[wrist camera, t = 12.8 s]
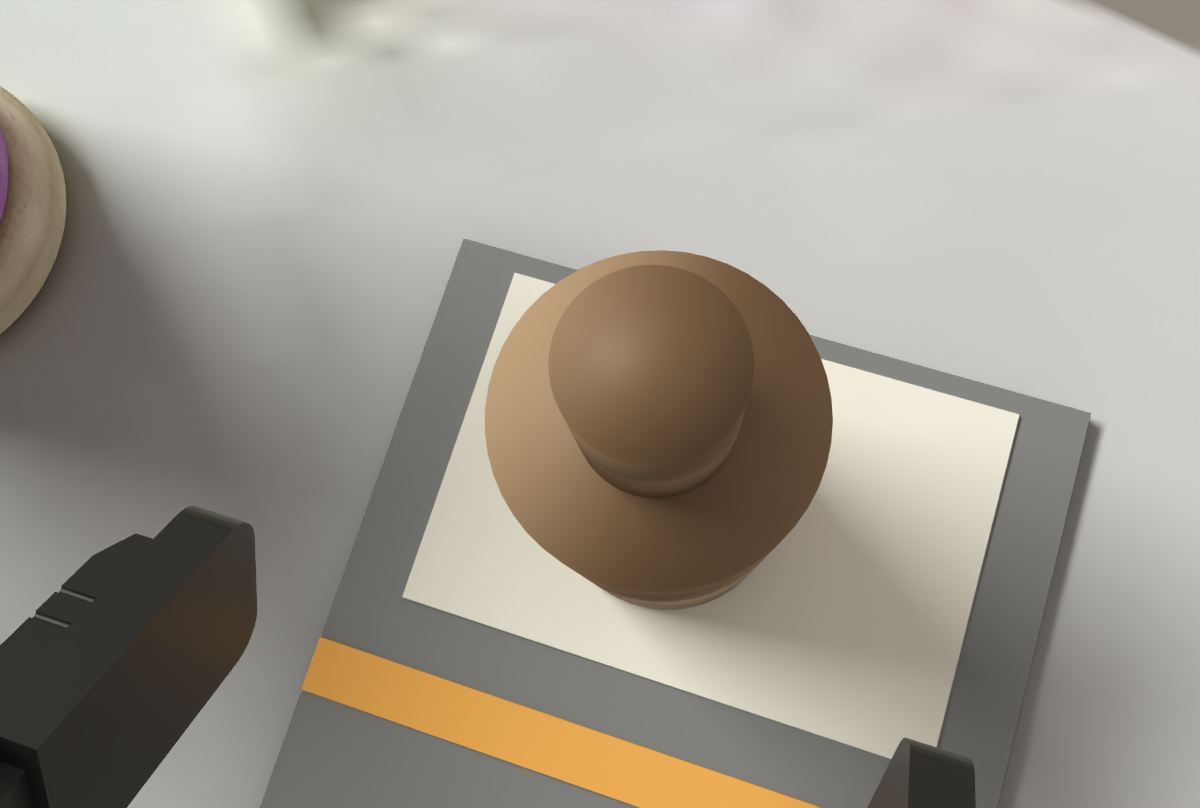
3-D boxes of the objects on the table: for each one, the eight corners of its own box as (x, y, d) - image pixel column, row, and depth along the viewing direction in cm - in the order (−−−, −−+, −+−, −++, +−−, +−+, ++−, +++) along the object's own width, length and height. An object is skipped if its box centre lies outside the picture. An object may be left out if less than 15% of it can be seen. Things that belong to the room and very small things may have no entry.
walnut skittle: (526, 569, 24) (379, 502, 12) (594, 362, 25) (517, 118, 13) (742, 639, 23) (801, 638, 12) (804, 424, 24) (916, 223, 13)
